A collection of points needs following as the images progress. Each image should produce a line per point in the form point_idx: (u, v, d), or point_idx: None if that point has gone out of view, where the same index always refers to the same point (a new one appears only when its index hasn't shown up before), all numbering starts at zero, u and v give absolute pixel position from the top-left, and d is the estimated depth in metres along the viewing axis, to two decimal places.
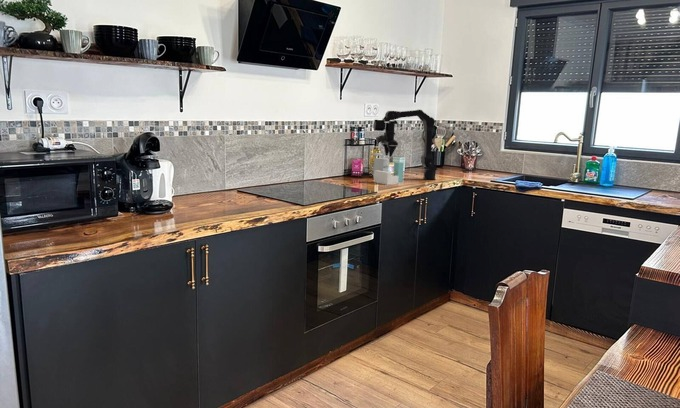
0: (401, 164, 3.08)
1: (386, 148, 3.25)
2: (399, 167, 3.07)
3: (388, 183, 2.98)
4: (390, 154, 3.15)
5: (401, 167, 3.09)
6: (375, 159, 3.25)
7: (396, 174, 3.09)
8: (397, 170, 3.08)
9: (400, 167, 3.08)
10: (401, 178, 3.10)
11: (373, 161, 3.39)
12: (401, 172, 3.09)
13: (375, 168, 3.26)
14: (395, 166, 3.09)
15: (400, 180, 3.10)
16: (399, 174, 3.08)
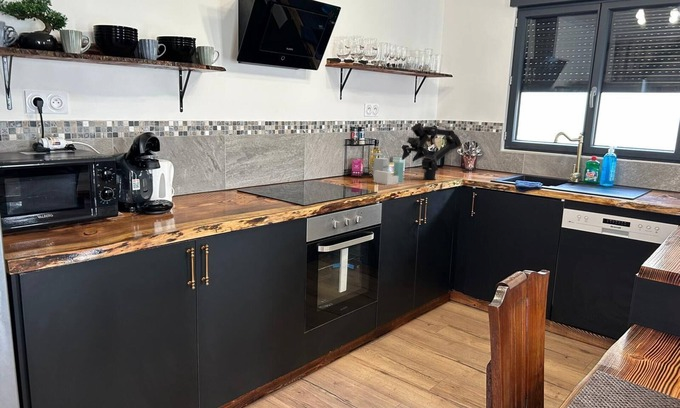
0: (401, 164, 3.08)
1: (405, 154, 3.18)
2: (399, 167, 3.07)
3: (388, 183, 2.98)
4: (414, 159, 3.10)
5: (401, 167, 3.08)
6: (375, 159, 3.25)
7: (396, 174, 3.09)
8: (397, 170, 3.08)
9: (400, 167, 3.08)
10: (401, 178, 3.10)
11: (373, 161, 3.39)
12: (401, 172, 3.09)
13: (375, 168, 3.26)
14: (395, 166, 3.09)
15: (400, 180, 3.10)
16: (399, 174, 3.08)
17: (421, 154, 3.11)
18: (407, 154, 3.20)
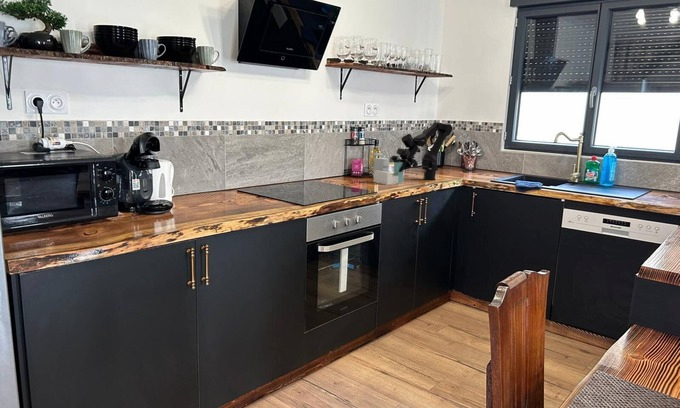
0: (401, 164, 3.08)
1: None
2: (399, 167, 3.07)
3: (388, 183, 2.98)
4: (401, 169, 3.08)
5: None
6: (375, 159, 3.25)
7: (396, 174, 3.09)
8: (397, 170, 3.08)
9: (400, 167, 3.08)
10: (401, 178, 3.10)
11: (373, 161, 3.39)
12: (401, 172, 3.09)
13: (375, 168, 3.26)
14: (395, 166, 3.09)
15: (400, 180, 3.10)
16: (399, 174, 3.08)
17: (408, 165, 3.09)
18: None
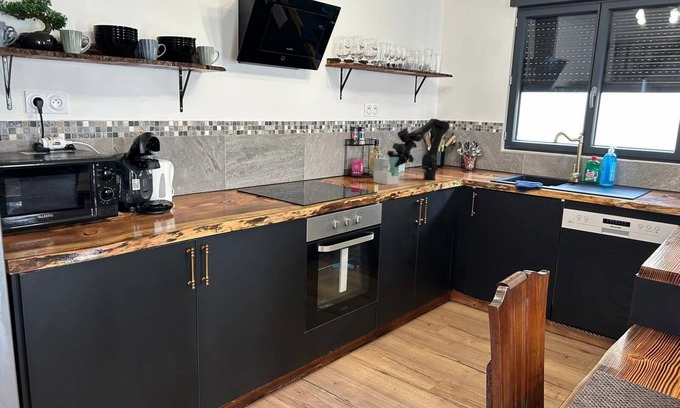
0: (397, 159, 3.05)
1: None
2: (395, 162, 3.05)
3: (388, 183, 2.98)
4: (396, 164, 3.05)
5: None
6: (375, 159, 3.25)
7: (392, 169, 3.06)
8: (393, 165, 3.05)
9: (396, 162, 3.05)
10: (397, 173, 3.07)
11: (373, 161, 3.39)
12: (397, 167, 3.06)
13: (375, 168, 3.26)
14: (391, 161, 3.06)
15: (396, 175, 3.07)
16: (395, 169, 3.06)
17: (403, 160, 3.06)
18: None
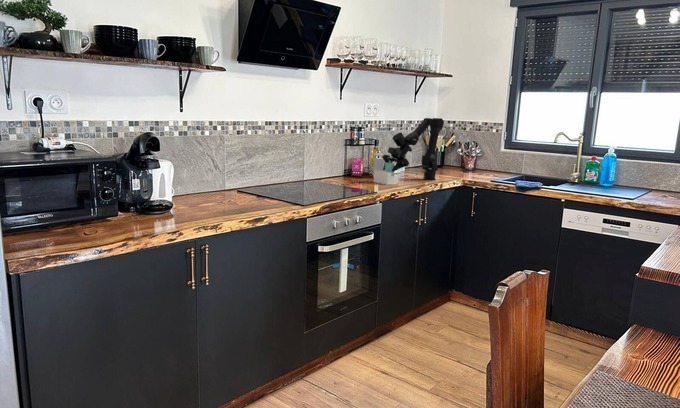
0: (392, 164, 3.04)
1: None
2: (390, 167, 3.03)
3: (388, 183, 2.98)
4: (394, 169, 3.02)
5: (392, 167, 3.04)
6: (375, 159, 3.25)
7: None
8: (388, 171, 3.03)
9: (391, 167, 3.03)
10: None
11: (373, 161, 3.39)
12: (392, 173, 3.05)
13: (375, 168, 3.26)
14: (386, 166, 3.05)
15: None
16: None
17: (401, 164, 3.03)
18: None
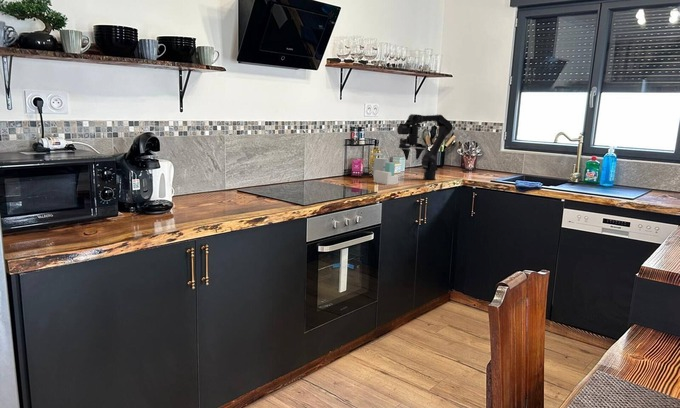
0: (392, 164, 3.04)
1: (417, 152, 3.22)
2: (390, 167, 3.03)
3: (388, 183, 2.98)
4: (405, 157, 3.16)
5: (392, 167, 3.04)
6: (375, 159, 3.25)
7: None
8: (388, 171, 3.03)
9: (391, 167, 3.03)
10: None
11: (373, 161, 3.39)
12: (392, 173, 3.05)
13: (375, 168, 3.26)
14: (386, 166, 3.05)
15: None
16: None
17: (406, 149, 3.14)
18: (419, 151, 3.21)
